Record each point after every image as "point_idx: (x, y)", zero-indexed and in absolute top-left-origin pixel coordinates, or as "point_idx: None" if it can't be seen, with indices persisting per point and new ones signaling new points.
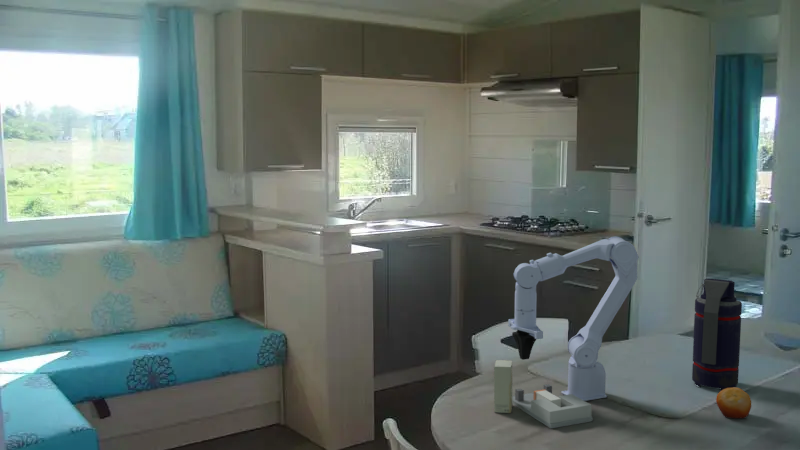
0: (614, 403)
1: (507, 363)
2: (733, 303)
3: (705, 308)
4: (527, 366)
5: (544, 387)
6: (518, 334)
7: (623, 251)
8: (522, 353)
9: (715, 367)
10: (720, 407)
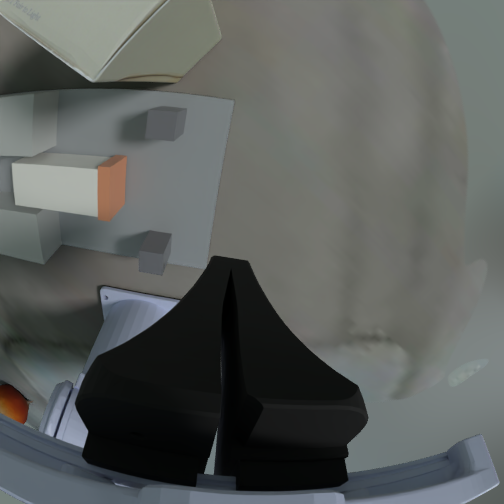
0: (78, 339)
1: (53, 8)
2: None
3: None
4: (407, 352)
5: (157, 248)
6: (173, 419)
7: None
8: (199, 278)
9: None
10: (2, 391)
